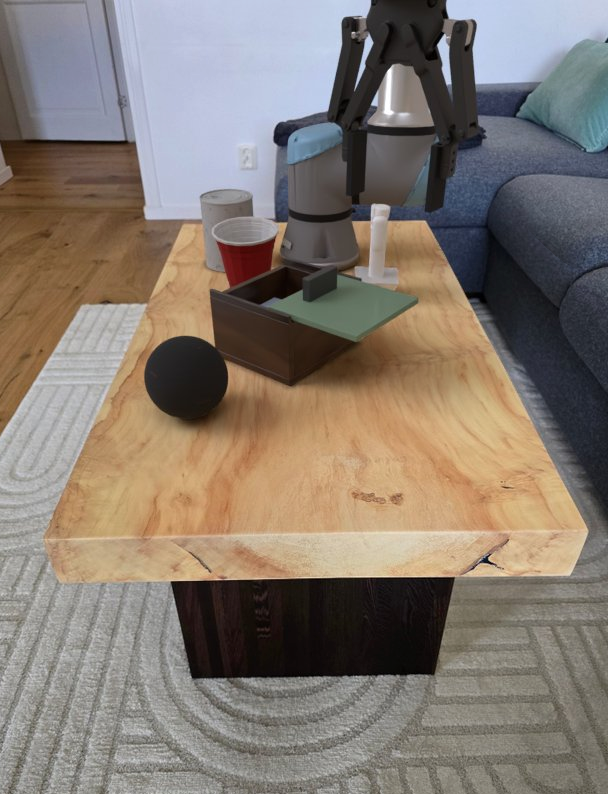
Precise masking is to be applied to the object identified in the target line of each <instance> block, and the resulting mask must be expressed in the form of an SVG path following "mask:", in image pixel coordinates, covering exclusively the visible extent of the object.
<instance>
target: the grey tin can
mask: <svg viewBox="0 0 608 794" xmlns="http://www.w3.org/2000/svg"><path fill="white" fill-rule="evenodd" d="M253 199H254V195H253V193H252V192H251V191H247V190H245V189H238V188H221V189H213V190H209V191H208V190H207V191H206V192H203V193H201V194H200V195H199V203H200V211H201V222H202V223H201V224H202V231H203V241H204V243H203V244H204V250H205V251H204V252H205V261H206V262H205V265H206V266H207V268H208V269H210V270H212V271H215V272H218V273H226V272H225V268H224V264H223V261H222V257H221V253H220V251H219V247H218V245H217V242H216V240H215V238H214V237H213V236H212V228H213V227H214V226H215V225H217V224H218V223H220V222H222V221H225V220H227V219H232V218H237V217H254V201H253Z"/></svg>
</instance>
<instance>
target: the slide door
mask: <svg viewBox="0 0 608 794" xmlns="http://www.w3.org/2000/svg"><path fill="white" fill-rule="evenodd" d="M337 270H338V267H336V266H333V265H329V266H327V267H325V268H323V269H321V270H319V271H317V272H315V273H313V274H311V275H309V276H307V277H304V278H303V290H301V291H299V292H297V293H295V294H293V295H291V296H289V297H287V298H284V299H282V300H280V301H278V302H276V303H274V304H272V305H270V306H269V308H270V309H273V310H276V311H279V312H282V313H284V314H287V315H290V316H291V320H294V321H297V322H299V323H302V324H305V325H308V326H311V327H314V328H317V329H320V330H322V331H325V332H328V333H331V334H334V335H337V336H340V337H343V338H345V339H348V340H351V341H354V342H358V341H359V342H360V341H361V340H362V339H364V338H366V337H367V336H369V335H370V334H373V332H375V331H377V330H379V329H380V328H381V327H383V326H385V325H386V324H388V323H389V322H391V321H393V320H394V319H396V318H397V317H399V316H400V315H402V314H404V313H405V312H408V311H409V310H410V309H412V308H413V307H415V306H417V305H418V304H419V301H420V298H419V297H418V296H414V295H411V294H407V293H404V292H400V291H396V290H390V289H387V288H383V287H380V286H376V285H373V284H369V283H366V282H362V281H359V280H355V279H352V278H348V277H345V276H341V275H338V274H337V272H338V271H337Z"/></svg>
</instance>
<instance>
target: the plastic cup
mask: <svg viewBox="0 0 608 794" xmlns="http://www.w3.org/2000/svg"><path fill="white" fill-rule="evenodd" d="M279 232H280V226H279V224H278V223H276V222H275V221H274V220H271V219H268V218H265V217H258V216H253V217H237V218H232V219H227V220H225V221H222V222H220V223H218V224H217V225H215V226H214V227H213V228H212V236H213V237H214V238H215V240H216V242H217V245H218V247H219V251H220V253H221V257H222V261H223V264H224V268H225V272H224V273H225V276H226V280H227V282H228V285H229V288H231V287H233V286H236V285H238V284H240V283H242V282H245V281H247V280H249V279H251V278H254V277H256V276H258V275H260V274H263V273H265V272H267V271H269V270H272V263H273V255H274V249H275V243H276V239H277V236H278V235H279Z"/></svg>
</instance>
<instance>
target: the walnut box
mask: <svg viewBox="0 0 608 794" xmlns="http://www.w3.org/2000/svg"><path fill="white" fill-rule="evenodd" d="M321 269H323V267H320V266H316V265H313V264H309V263H306V262H302V261H298V260H295V259H291V258H288V257H284V258H283V263H282V264H281V265H279V266H276V267H274V268H271V270H269V271H267V272H265V273H263V274H260V275H258V276H256V277H254V278H251V279H249V280H247V281H245V282H242V283H240V284H238V285H236V286H233V287H231V288H230V287H228V288H227V289H224V290H222V291H221V290H217V289H214V288H210V289H209V302H210V309H211V310H210V311H211V321H212V330H213V331H212V332H213V341H214V347H215V348H216V349H217V350H218V351H219V352H220V354H221V355H222V357H223V359H224V360H226V361H228V362H231V363H233V364H236V365H238V366H241V367H242V368H245V369H247V370H250V371H252V372H255V373H257V374H260V375H262V376H264V377H266V378H269V379H272V380H274V381H276V382H279V383H282V384H284V385H286V386H288V387H292V386H293V385H295V384H296V383H298V382H299V381H301V380H302V379H304V378H306V377H307V376H308V375H311V374H312V373H314V372H315V371H316V370H318V369H320V368H321V367H323V366H324V365H326V364H327V363H330V362H331V361H332V360H334V359H335V358H337V357H339V356H341V355H342V354H343V353H345V352H346V351H348V350H349V349H351V348H353V347H354V346H356V345H357V344H359V343H360V340H359V341H358V342H354V341H351V340H348V339H345V338H343V337H340V336H337V335H334V334H331V333H328V332H325V331H322V330H320V329H317V328H314V327H311V326H308V325H305V324H302V323H299V322H297V321H294V320H291V316H290V315H287V314H284V313H282V312H279V311H276V310H273V309H270V308H267V307H264V306H261V304H263V303H265V302H267V301H268V300H270V299H272V298H274V297H275V298H278V299H281V300H282V299H284V298H287V297H289V296H291V295H293V294H295V293H297V292H299V291H301V290H303V278H304V277H307V276H309V275H311V274H313V273H315V272H317V271H319V270H321ZM337 274H338V275H341V276H345V277H348V278H352V279H355V280H359V281H362V278H358V277H355V276H354V275H351V274H347V273H345V272H341V271H337Z"/></svg>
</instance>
